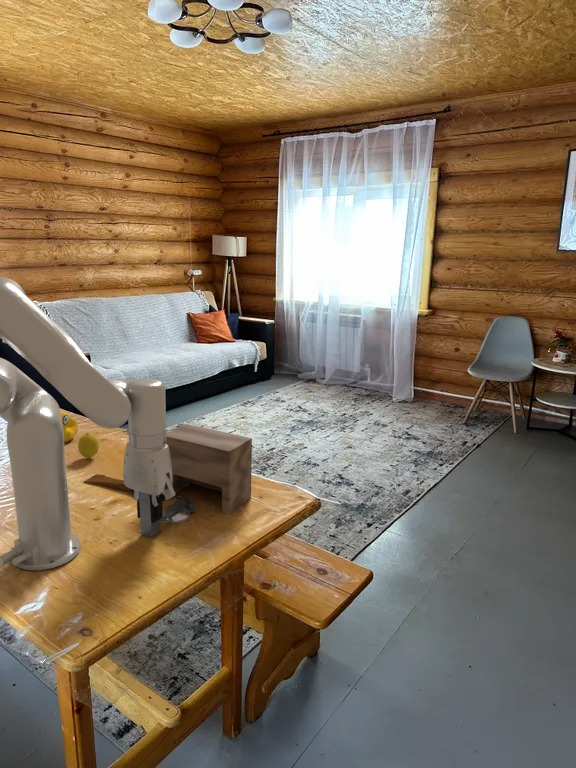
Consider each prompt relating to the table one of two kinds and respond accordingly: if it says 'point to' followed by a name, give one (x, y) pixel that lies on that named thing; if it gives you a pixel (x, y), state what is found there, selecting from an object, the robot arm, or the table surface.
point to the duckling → (69, 426)
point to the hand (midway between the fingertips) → (150, 517)
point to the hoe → (155, 528)
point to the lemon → (88, 445)
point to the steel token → (179, 516)
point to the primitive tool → (107, 482)
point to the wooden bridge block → (212, 462)
